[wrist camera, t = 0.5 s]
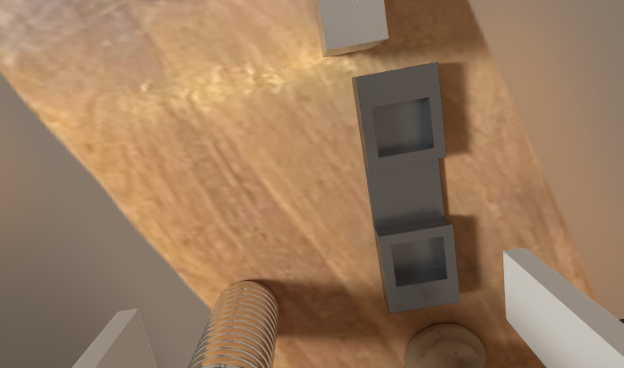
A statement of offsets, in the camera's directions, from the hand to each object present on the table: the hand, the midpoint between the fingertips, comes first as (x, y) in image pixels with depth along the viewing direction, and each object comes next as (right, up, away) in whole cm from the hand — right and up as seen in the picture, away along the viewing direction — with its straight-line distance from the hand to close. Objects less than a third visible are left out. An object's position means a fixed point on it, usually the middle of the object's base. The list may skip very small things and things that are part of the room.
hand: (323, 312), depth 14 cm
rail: (+9, +4, +25) cm, 26 cm away
